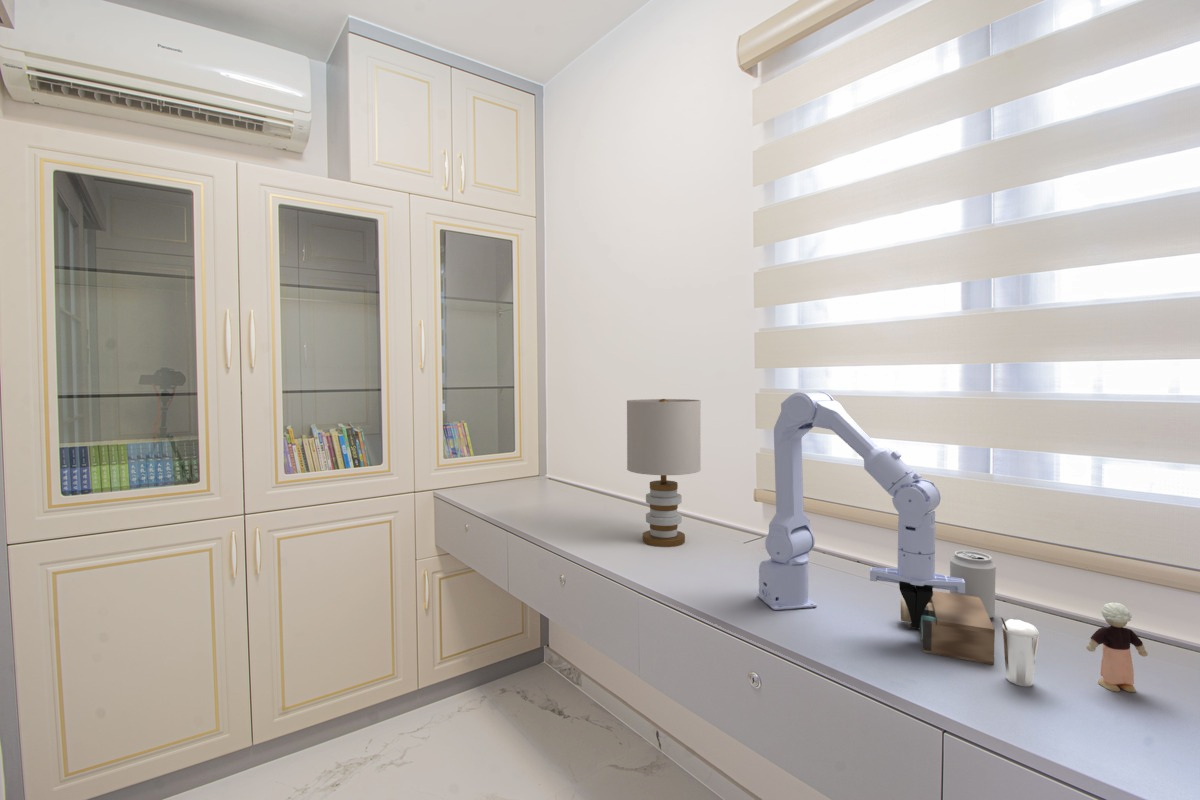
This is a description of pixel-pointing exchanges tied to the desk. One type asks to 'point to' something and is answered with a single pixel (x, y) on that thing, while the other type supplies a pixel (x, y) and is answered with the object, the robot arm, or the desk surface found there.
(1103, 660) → the grandmother figurine
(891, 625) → the desk surface
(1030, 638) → the milkshake
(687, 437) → the lamp
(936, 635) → the walnut block
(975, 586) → the can
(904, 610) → the beech peg
